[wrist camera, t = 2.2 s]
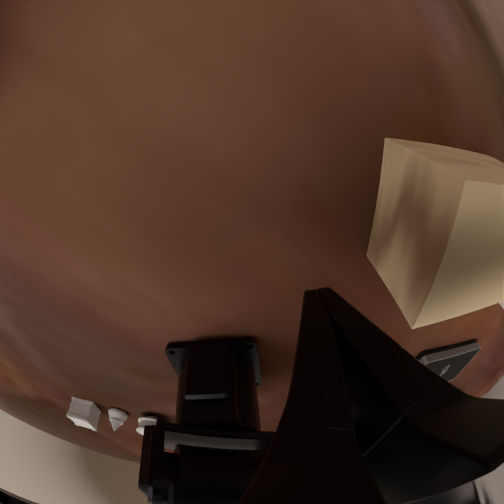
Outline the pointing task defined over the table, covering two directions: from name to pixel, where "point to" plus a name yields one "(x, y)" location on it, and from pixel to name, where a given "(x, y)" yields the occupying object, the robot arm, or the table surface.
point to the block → (439, 230)
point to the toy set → (89, 415)
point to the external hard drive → (449, 358)
